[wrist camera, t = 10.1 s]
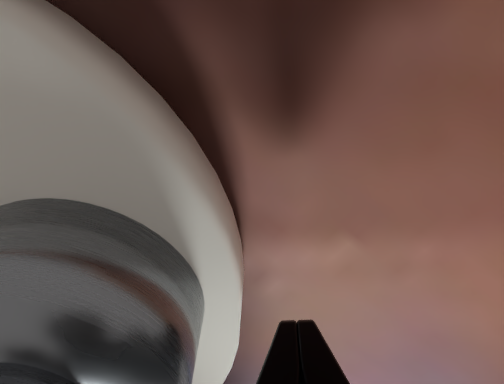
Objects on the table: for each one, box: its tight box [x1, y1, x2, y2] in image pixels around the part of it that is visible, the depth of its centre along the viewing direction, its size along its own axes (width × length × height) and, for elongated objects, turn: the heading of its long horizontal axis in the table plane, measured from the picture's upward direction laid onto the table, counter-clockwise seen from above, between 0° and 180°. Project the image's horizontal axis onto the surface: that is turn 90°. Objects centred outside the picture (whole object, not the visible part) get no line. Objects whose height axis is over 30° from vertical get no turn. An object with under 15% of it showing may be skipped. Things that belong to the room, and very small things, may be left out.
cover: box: [0, 198, 205, 384], centre depth 9 cm, size 7×7×4 cm
